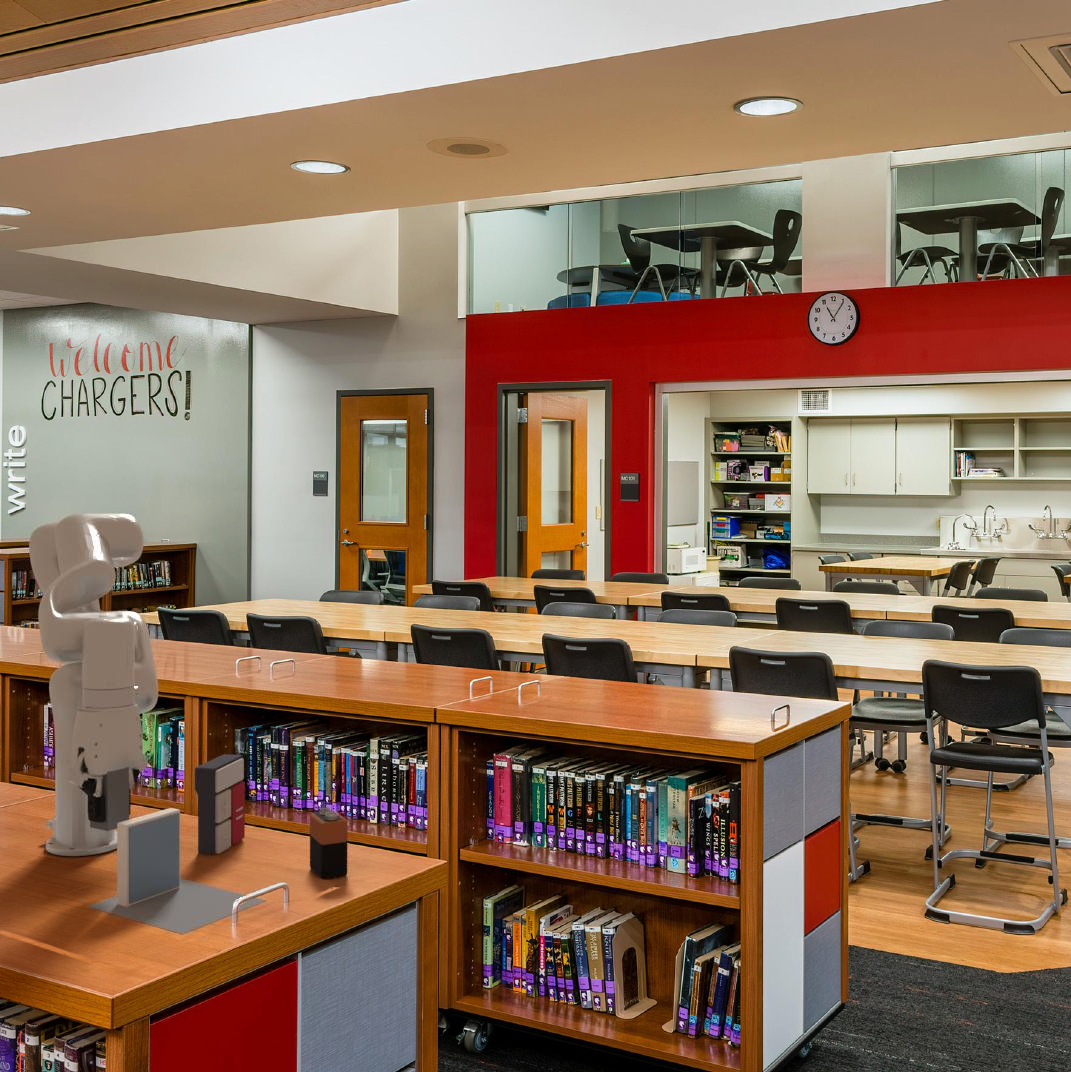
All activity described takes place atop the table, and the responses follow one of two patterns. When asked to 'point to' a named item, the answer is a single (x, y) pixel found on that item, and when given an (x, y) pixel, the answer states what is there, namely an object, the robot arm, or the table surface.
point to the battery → (328, 844)
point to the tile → (148, 856)
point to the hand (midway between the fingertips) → (109, 816)
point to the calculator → (220, 803)
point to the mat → (180, 907)
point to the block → (114, 799)
